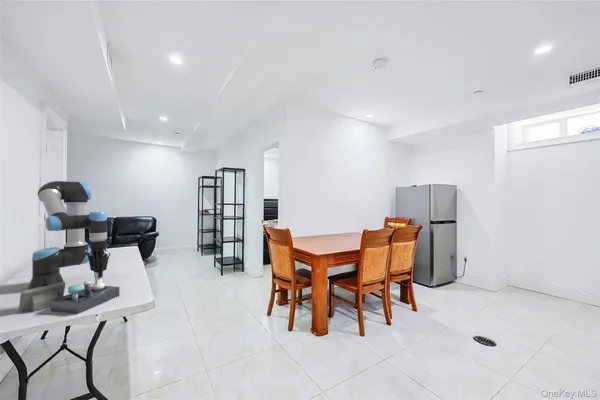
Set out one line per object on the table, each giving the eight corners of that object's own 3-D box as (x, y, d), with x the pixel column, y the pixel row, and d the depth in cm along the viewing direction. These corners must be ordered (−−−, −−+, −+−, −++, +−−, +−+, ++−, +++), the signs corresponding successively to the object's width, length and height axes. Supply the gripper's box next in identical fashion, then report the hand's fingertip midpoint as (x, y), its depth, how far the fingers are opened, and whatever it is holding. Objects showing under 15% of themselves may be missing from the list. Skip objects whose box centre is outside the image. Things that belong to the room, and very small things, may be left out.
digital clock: (64, 299, 135) (64, 279, 134) (66, 304, 129) (66, 283, 128) (18, 309, 122) (18, 288, 122) (19, 315, 116) (18, 292, 116)
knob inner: (90, 298, 134) (90, 285, 134) (99, 295, 139) (99, 282, 139) (98, 299, 133) (98, 285, 133) (106, 295, 138) (106, 282, 138)
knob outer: (65, 302, 122) (65, 287, 122) (76, 298, 127) (76, 284, 127) (74, 303, 121) (73, 288, 121) (84, 299, 126) (84, 285, 126)
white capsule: (82, 294, 129) (82, 282, 129) (87, 292, 132) (87, 280, 132) (86, 294, 128) (86, 283, 128) (92, 292, 131) (92, 281, 131)
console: (50, 311, 121) (50, 300, 121) (95, 293, 143) (95, 285, 142) (78, 314, 118) (77, 303, 118) (119, 295, 140) (119, 286, 140)
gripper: (81, 241, 133) (81, 285, 134) (101, 241, 131) (102, 286, 131) (95, 238, 141) (95, 280, 141) (114, 239, 138) (115, 282, 139)
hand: (98, 283), depth 136 cm, fingers closed
